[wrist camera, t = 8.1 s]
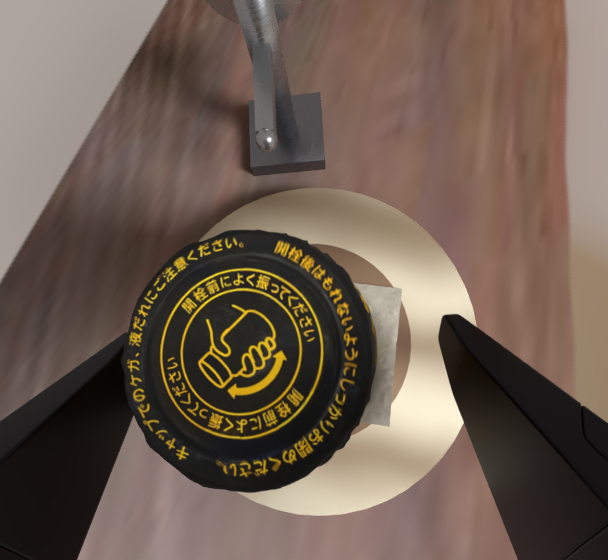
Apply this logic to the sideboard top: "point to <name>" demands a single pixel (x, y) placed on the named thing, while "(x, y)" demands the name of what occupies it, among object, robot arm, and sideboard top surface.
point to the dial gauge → (275, 93)
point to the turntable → (409, 347)
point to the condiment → (257, 359)
